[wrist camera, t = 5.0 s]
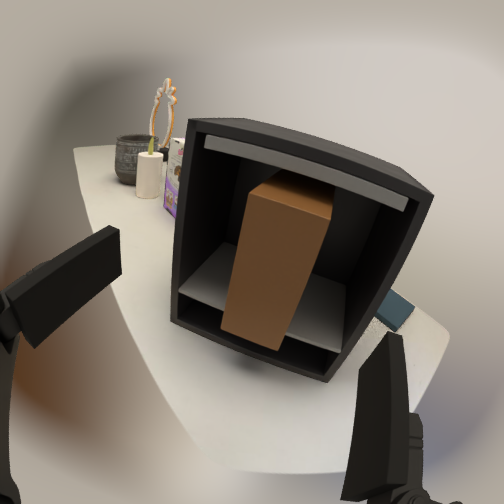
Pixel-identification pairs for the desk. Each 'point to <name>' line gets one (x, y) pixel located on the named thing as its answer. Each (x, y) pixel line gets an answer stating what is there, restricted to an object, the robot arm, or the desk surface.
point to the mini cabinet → (332, 249)
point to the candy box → (173, 174)
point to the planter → (131, 155)
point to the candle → (149, 173)
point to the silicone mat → (394, 310)
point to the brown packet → (276, 255)
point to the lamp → (170, 92)
